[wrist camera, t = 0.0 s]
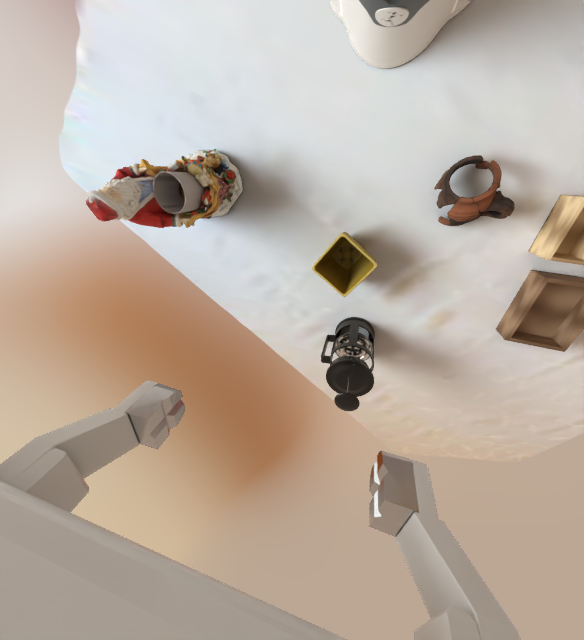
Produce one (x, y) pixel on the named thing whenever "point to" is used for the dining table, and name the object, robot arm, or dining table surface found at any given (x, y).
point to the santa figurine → (169, 191)
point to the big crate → (545, 311)
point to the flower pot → (344, 264)
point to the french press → (350, 363)
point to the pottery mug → (477, 206)
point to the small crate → (562, 232)
